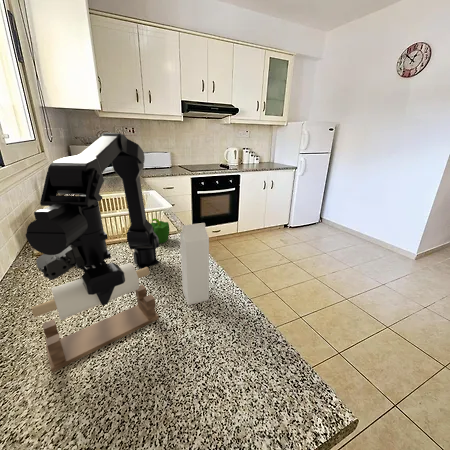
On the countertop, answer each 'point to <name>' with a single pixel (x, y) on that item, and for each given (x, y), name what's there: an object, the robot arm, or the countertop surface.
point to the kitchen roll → (86, 294)
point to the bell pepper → (161, 230)
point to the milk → (195, 262)
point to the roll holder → (98, 332)
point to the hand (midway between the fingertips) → (100, 296)
